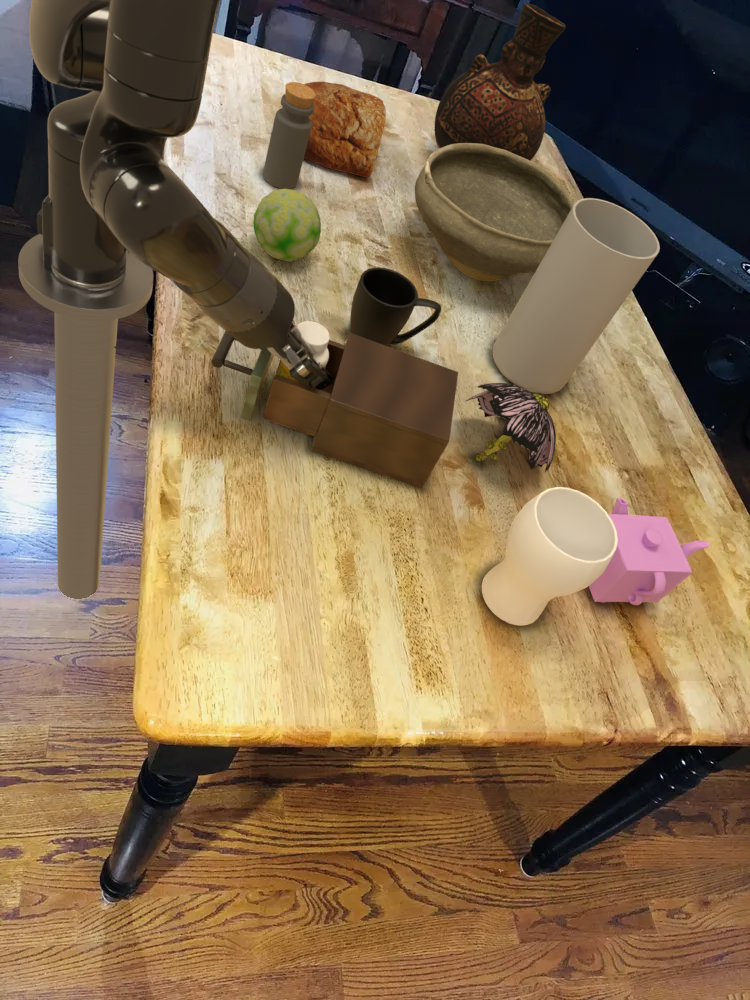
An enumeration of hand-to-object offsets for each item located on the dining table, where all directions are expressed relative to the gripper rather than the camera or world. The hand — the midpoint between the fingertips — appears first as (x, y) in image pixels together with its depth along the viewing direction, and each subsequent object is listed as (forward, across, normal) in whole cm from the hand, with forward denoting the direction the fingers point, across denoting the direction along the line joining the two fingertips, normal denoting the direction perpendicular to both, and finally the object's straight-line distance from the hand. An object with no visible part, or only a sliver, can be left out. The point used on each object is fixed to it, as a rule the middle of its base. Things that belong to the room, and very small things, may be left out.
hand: (314, 365), depth 92 cm
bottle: (+19, +47, -9) cm, 52 cm away
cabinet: (+10, -7, 0) cm, 12 cm away
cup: (+12, -34, -3) cm, 36 cm away
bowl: (+37, +23, -28) cm, 51 cm away
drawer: (+3, +1, +6) cm, 6 cm away
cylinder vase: (+32, -2, -23) cm, 40 cm away
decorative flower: (+21, -14, -12) cm, 28 cm away
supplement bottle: (+2, 0, +4) cm, 5 cm away
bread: (+29, +58, -20) cm, 68 cm away
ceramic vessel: (+49, +48, -40) cm, 79 cm away
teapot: (+23, -36, -14) cm, 45 cm away
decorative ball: (+13, +28, -3) cm, 31 cm away
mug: (+17, +8, -7) cm, 20 cm away
